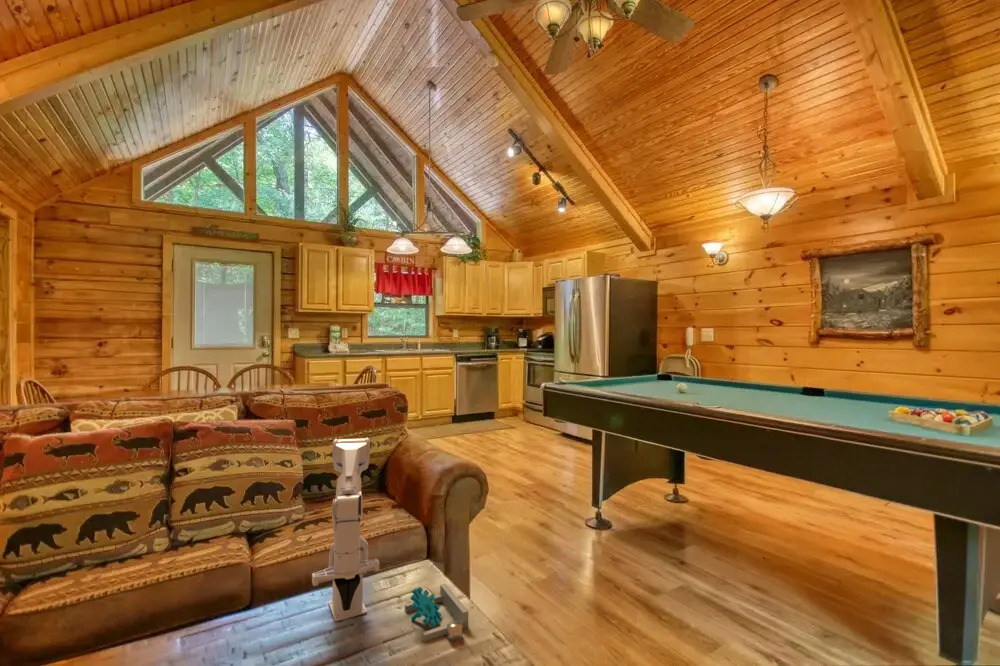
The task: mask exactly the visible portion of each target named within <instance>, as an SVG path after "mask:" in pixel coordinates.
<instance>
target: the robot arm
mask: <svg viewBox="0 0 1000 666" xmlns="http://www.w3.org/2000/svg"><path fill="white" fill-rule="evenodd" d="M331 450H332V451H331V452H332V454H331V455H332V456H331V459H332V464H333V465H332V466H333V468H334V471H336V472H338V473H340V475H339V476H338V477H337V481H336V487H335V489H336V490H335V497H334V498H332V507H331V518H332V530H333V531H332V532H333V542H332V544H331V546H330V547H329V555H328V565H327V566H328V567H326V568H324V569H322V570H319V571H316V572H313V573H311V583H312V586H313V587H315V586H319V584H321V583H325V582H330V581H332V599H331V600H328V606H329V609H330V611H331V615H332V616H333V617H332V618H333V620H334V621H335V622H339V621H342V620H347V619H350V618H353V617H357V616H361V615H364V614H367V613H368V610H367V608H366V606H365V604H364V601H363V599H364V598H363V596H364V595H363V593H364V592H363V591H364V587H363V585H364V574H367V573H368V572H372V571H374V572H378V571H380V561H379V559H378V558H374V559H369V548H368V547H369V543H368V541H367V540H366V539H365V538H363V537H362V536H361V525H362V524H361V521H362V518H363V509H364V508H363V506H364V505H363V504H364V502H363V501H364V500H363V499H364V498H363V494H362V493H363V492H362V476H361V474H362V472H364V471H365V470H367V469H369V465H370V458H371V439H370V438H369V437H368V436H367V437H361V438H360V437H359V438H358V437H357V438H335V439H334V440H332V449H331ZM359 516H360V517H359Z"/></svg>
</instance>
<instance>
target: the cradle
mask: <svg viewBox="0 0 1000 666" xmlns="http://www.w3.org/2000/svg"><path fill="white" fill-rule="evenodd" d="M439 587H440V588H439V589H440V590H439V594H436V595H435V597H434V598H435V601H434V602H435V603H436V604H439V603H442V602H443V603H442V604H443V605H444V607H445V606H446V607H447V608H446V607H445V608H446V609H447V611H448V612H449V613H450V615H451V616H452V617H453V618H454V620H458V621H460V622H461V623H462V630H463V629H467V628H469V610H468V609H467V607H465V605H464V604H463V603H462V602H461V600H460V599H459V598H458V597H457V596H456V594H455V592H453V591H452V590H451V588H450V587H449V586H448V585H447V583H443V584H440V586H439ZM427 597H428V598H429V596H427ZM441 601H442V602H441ZM438 602H439V603H438ZM413 603H414V601H410V602H406V603H405V604H404V611H405V612H406V613H407V612H411V611H414V610H416V609H413V607H412V604H413ZM435 603H434V604H435ZM445 634H446V635H447V624H445V625H442V626H438V627H434V628H432V629H430V630H429V629H428V630H426V631H423V632H422V638H421V639H422V641H423V642H427V641H430V640H433V639H432V638H434V639H436V638H435V637H437V638H439V637H438V636H440V637H442V636H441V635H443V636H445ZM429 639H430V640H429Z"/></svg>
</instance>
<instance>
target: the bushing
mask: <svg viewBox="0 0 1000 666" xmlns="http://www.w3.org/2000/svg"><path fill="white" fill-rule="evenodd" d="M446 625H447V634H446V640H447V641H449V642H452V643H456V642H457V643H458V642H460V641H461V640H462V638H463V629H462V623H461V622H460V621H458V620H455V619H454V620H450V621H449V622H447V624H446Z"/></svg>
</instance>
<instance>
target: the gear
mask: <svg viewBox="0 0 1000 666" xmlns="http://www.w3.org/2000/svg"><path fill="white" fill-rule="evenodd" d="M428 595H429V596H428ZM428 597H429V598H428ZM434 597H435V593H431V594H430V592H429V591H428V590H427V589H425V590H424V589H423V588H422V587H420V586H418V587H417V588H415V589H413V590H412V595H411V596H410V600H411V602H414V603H413V604H412V607H413V609H415V610H417V612H416V613H414V614H413V615H412V616H410V620H411V621H412V622H414V621H415V620H416V619H417V618H418V619H420V618H421V617H425V618H423V620H422V622H423V624H424V625H428V624H429V626H430V627H432V628H435V626H437V625H438V624H440V623H441V620H440V618H441V617H442V613H441V612H440V611H439V610H440V606H439V603H436V604H434V603H435V602H434V601H435V598H434Z"/></svg>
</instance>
